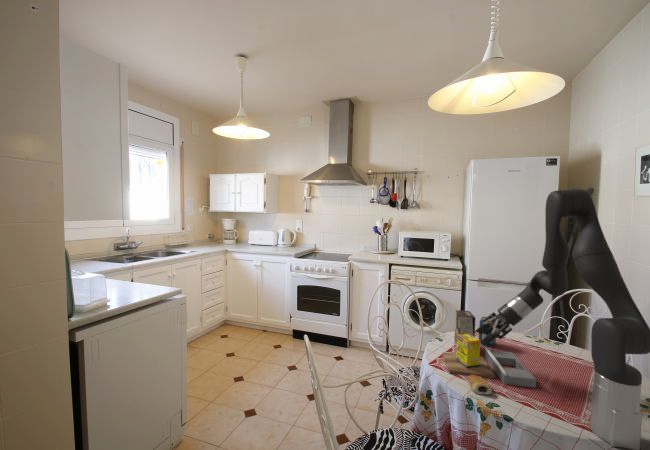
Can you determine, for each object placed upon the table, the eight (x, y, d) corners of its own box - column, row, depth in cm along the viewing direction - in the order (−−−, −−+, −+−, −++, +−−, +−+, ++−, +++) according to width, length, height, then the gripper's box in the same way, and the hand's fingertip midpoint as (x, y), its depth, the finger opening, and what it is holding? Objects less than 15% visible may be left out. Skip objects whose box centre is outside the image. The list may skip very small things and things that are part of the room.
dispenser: (535, 387, 102) (536, 376, 102) (503, 383, 104) (503, 372, 104) (511, 359, 121) (511, 349, 121) (484, 356, 123) (484, 346, 123)
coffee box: (474, 353, 125) (476, 317, 125) (458, 352, 127) (460, 316, 126) (468, 344, 134) (469, 310, 134) (453, 342, 136) (455, 309, 135)
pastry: (464, 378, 107) (464, 368, 107) (483, 380, 106) (484, 370, 106) (472, 394, 98) (473, 383, 98) (494, 397, 97) (494, 386, 96)
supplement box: (456, 360, 117) (457, 334, 117) (468, 359, 119) (469, 333, 118) (466, 368, 112) (468, 341, 111) (479, 366, 113) (480, 339, 113)
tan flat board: (495, 378, 107) (495, 375, 107) (449, 372, 110) (449, 370, 110) (482, 359, 121) (482, 357, 121) (442, 355, 124) (442, 352, 124)
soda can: (482, 339, 140) (483, 315, 139) (497, 344, 135) (499, 319, 134) (476, 343, 136) (477, 318, 135) (492, 349, 130) (493, 323, 130)
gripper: (500, 298, 118) (469, 322, 121) (516, 309, 104) (480, 337, 107) (513, 311, 117) (482, 336, 120) (531, 324, 103) (495, 352, 106)
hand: (481, 336), depth 114 cm, fingers open, 8 cm apart
